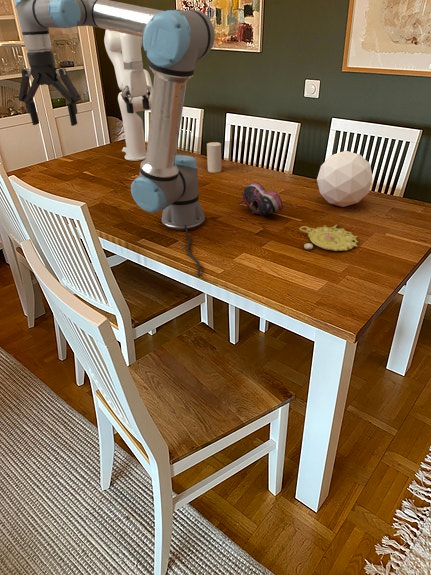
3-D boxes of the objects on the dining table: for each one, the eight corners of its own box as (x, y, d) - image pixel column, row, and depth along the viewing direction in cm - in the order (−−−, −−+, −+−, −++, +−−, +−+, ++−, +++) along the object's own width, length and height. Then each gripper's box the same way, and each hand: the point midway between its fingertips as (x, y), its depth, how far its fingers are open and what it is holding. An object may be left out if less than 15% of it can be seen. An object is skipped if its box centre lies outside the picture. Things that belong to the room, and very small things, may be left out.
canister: (208, 168, 207) (207, 142, 200) (222, 168, 206) (221, 142, 200) (207, 172, 202) (206, 145, 195) (220, 172, 201) (220, 145, 195)
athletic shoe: (254, 181, 170) (227, 189, 167) (283, 176, 151) (253, 185, 147) (260, 210, 173) (234, 218, 170) (290, 209, 154) (261, 219, 150)
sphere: (348, 225, 166) (362, 196, 147) (303, 198, 170) (311, 167, 152) (373, 189, 171) (391, 157, 152) (328, 164, 175) (340, 130, 156)
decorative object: (343, 255, 128) (285, 234, 139) (342, 262, 130) (284, 241, 140) (372, 230, 142) (317, 213, 152) (371, 237, 143) (316, 219, 153)
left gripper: (141, 64, 187) (145, 107, 196) (111, 68, 175) (117, 114, 184) (154, 64, 183) (158, 108, 192) (124, 68, 171) (130, 115, 180)
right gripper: (83, 49, 133) (95, 122, 145) (9, 50, 138) (26, 121, 149) (72, 51, 127) (85, 127, 139) (-6, 52, 132) (14, 126, 143)
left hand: (138, 111), depth 188 cm, fingers open, 9 cm apart
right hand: (55, 124), depth 144 cm, fingers open, 13 cm apart
